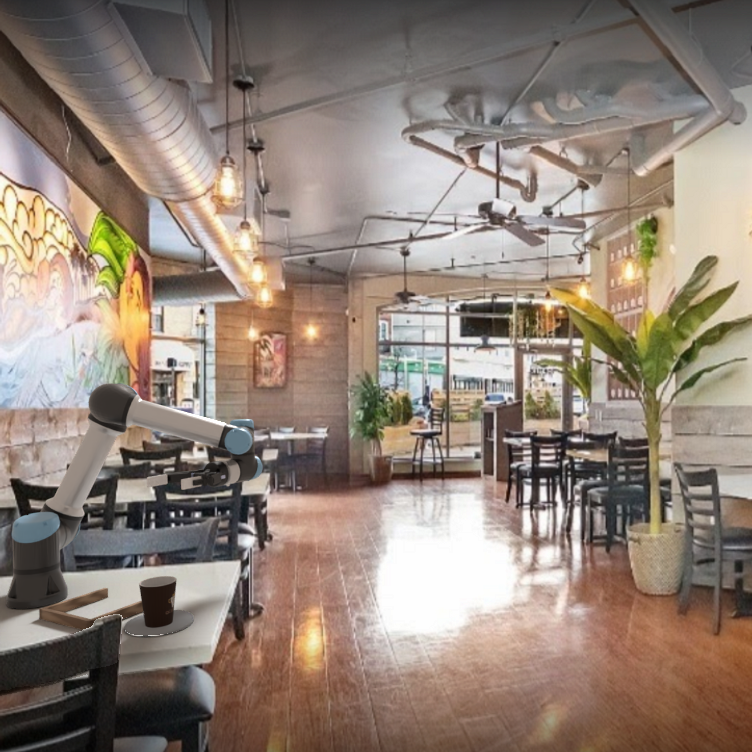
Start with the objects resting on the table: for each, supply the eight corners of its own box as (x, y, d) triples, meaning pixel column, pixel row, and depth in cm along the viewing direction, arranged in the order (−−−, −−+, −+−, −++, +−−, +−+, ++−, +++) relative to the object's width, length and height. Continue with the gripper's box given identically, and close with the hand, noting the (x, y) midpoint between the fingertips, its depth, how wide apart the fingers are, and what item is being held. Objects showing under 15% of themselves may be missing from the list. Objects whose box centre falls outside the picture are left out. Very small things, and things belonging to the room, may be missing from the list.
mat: (129, 617, 162) (129, 614, 162) (194, 610, 165) (194, 606, 165) (119, 640, 146) (119, 637, 146) (192, 632, 150) (192, 628, 150)
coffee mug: (159, 631, 149) (158, 588, 149) (132, 626, 153) (131, 584, 153) (193, 614, 159) (192, 574, 160) (167, 610, 163) (166, 571, 163)
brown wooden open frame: (105, 596, 179) (105, 587, 179) (154, 607, 169) (154, 597, 169) (39, 618, 163) (39, 608, 163) (89, 631, 152) (89, 621, 152)
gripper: (252, 487, 185) (197, 499, 167) (191, 483, 198) (134, 494, 180) (251, 461, 186) (196, 471, 167) (191, 459, 198) (134, 468, 180)
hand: (164, 483), depth 174 cm, fingers open, 13 cm apart
